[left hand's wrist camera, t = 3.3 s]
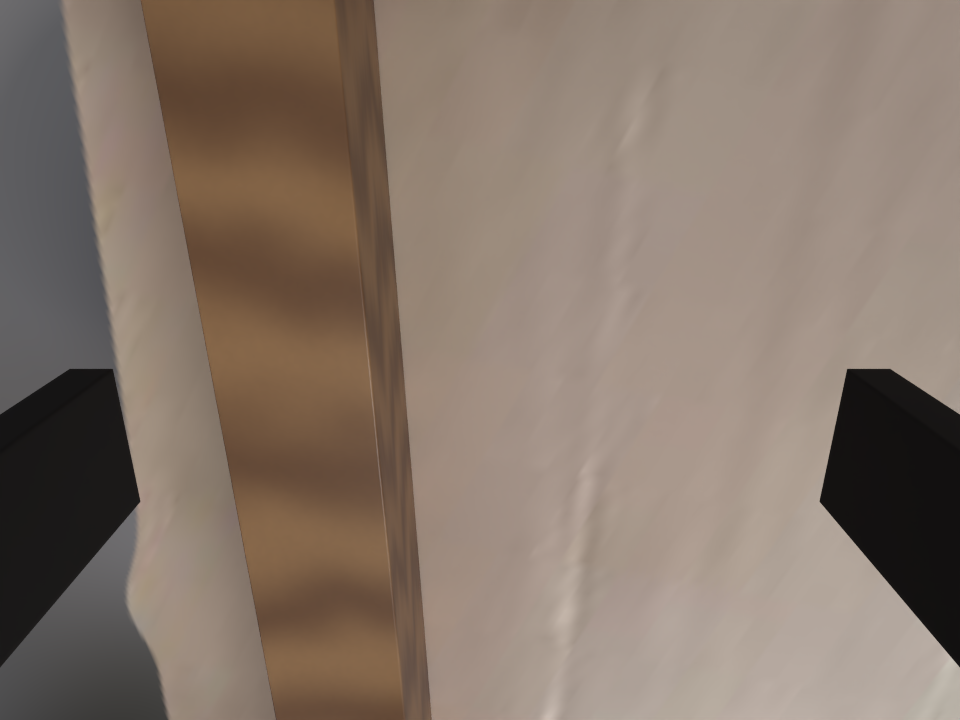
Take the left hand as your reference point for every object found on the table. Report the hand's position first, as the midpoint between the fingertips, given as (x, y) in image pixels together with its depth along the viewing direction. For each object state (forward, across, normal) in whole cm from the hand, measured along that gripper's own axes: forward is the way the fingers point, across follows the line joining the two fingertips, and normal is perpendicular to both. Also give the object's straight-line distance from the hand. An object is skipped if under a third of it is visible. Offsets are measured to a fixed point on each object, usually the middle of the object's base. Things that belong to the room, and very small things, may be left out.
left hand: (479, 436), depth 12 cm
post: (+18, -6, -18) cm, 26 cm away
